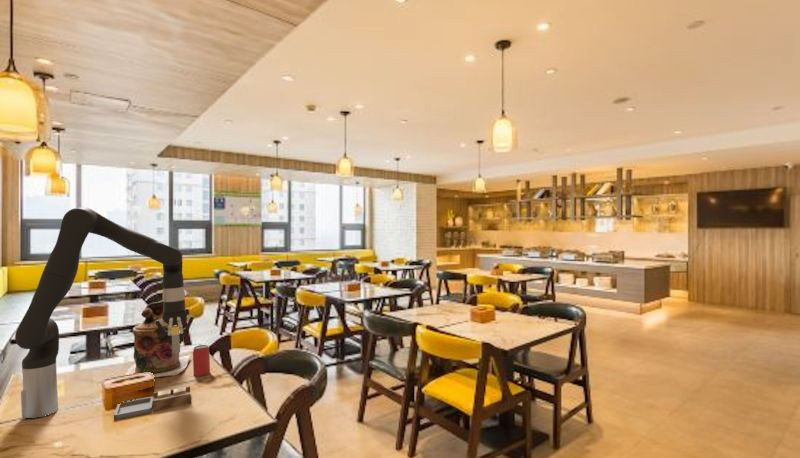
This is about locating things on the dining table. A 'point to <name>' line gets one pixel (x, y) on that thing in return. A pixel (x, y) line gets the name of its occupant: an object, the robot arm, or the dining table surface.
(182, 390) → the chip
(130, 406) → the tray
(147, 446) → the dining table surface
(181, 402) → the slot block
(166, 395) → the chip
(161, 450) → the dining table surface
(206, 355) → the beer can
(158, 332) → the cookie jar
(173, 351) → the scraper
